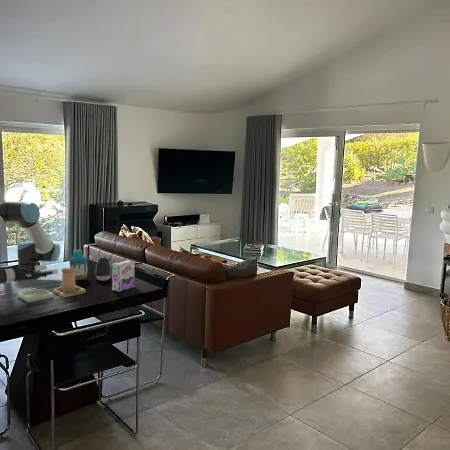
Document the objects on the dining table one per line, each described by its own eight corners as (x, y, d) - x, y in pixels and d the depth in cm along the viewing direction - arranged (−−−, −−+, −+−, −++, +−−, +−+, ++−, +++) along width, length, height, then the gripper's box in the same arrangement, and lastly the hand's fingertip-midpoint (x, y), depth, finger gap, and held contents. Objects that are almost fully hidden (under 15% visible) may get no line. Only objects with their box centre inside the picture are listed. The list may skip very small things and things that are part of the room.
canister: (59, 292, 263) (59, 269, 261) (72, 290, 268) (71, 267, 266) (66, 295, 258) (65, 271, 256) (78, 292, 263) (77, 269, 261)
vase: (76, 283, 283) (74, 253, 281) (67, 280, 290) (65, 251, 288) (91, 279, 291) (89, 250, 288) (82, 277, 298) (80, 248, 295)
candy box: (118, 292, 266) (118, 265, 264) (111, 290, 269) (111, 263, 267) (135, 287, 278) (135, 260, 275) (128, 285, 281) (128, 259, 278)
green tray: (17, 297, 253) (17, 292, 252) (42, 292, 263) (42, 288, 262) (28, 302, 243) (28, 298, 243) (53, 297, 253) (53, 293, 253)
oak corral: (52, 292, 263) (52, 289, 262) (74, 288, 272) (74, 284, 272) (63, 297, 253) (63, 294, 253) (85, 292, 263) (85, 289, 263)
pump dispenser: (107, 282, 287) (107, 259, 284) (92, 281, 289) (92, 258, 287) (114, 278, 297) (114, 255, 294) (100, 277, 299) (99, 254, 296)
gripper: (4, 277, 247) (42, 271, 262) (22, 286, 230) (62, 279, 245) (3, 264, 246) (41, 259, 261) (22, 272, 229) (61, 266, 244)
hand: (51, 269), depth 253 cm, fingers open, 13 cm apart
